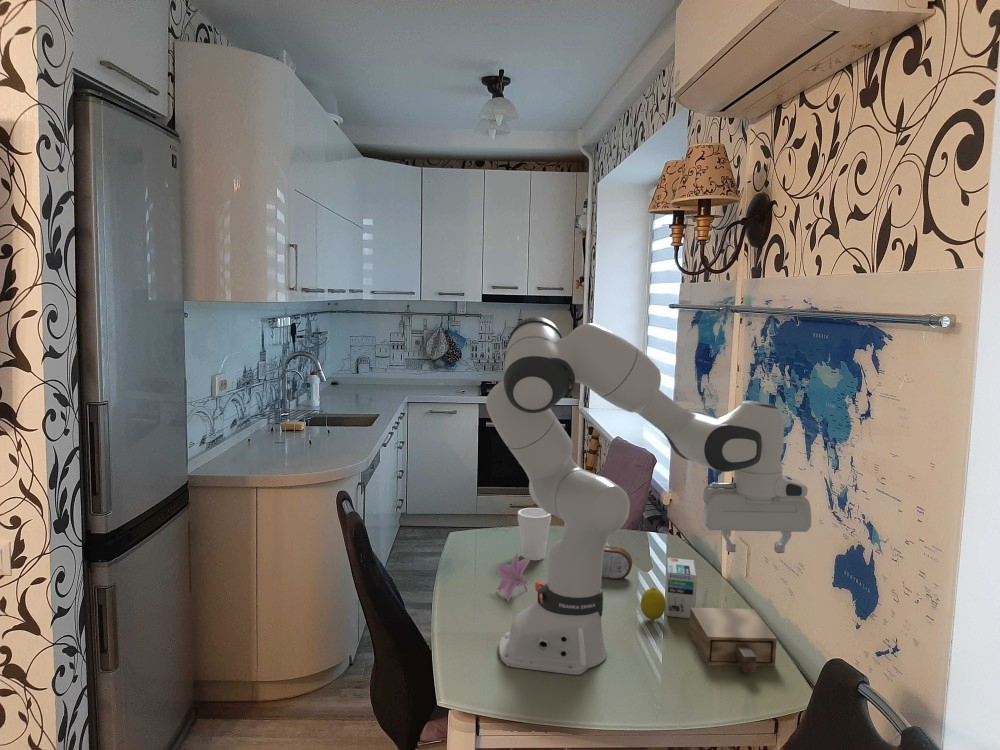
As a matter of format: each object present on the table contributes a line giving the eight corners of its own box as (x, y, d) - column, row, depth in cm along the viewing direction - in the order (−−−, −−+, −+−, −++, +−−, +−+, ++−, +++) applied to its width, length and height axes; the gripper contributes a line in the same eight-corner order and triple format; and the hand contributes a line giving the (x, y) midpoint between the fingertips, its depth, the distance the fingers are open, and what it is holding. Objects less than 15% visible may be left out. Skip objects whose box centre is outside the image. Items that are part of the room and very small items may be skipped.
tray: (718, 673, 144) (719, 654, 144) (694, 631, 162) (695, 614, 162) (779, 674, 144) (780, 655, 144) (749, 632, 162) (750, 615, 161)
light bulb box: (695, 619, 170) (697, 575, 169) (665, 616, 171) (667, 572, 170) (692, 601, 181) (695, 559, 179) (665, 598, 182) (666, 556, 181)
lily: (497, 585, 191) (484, 558, 186) (539, 569, 190) (527, 542, 186) (503, 618, 180) (489, 590, 176) (548, 601, 179) (535, 573, 175)
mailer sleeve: (706, 664, 149) (707, 636, 148) (689, 633, 163) (690, 607, 162) (775, 666, 149) (776, 638, 148) (751, 634, 163) (753, 608, 162)
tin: (631, 578, 195) (632, 547, 194) (631, 582, 192) (632, 551, 191) (575, 572, 198) (576, 542, 197) (573, 576, 195) (574, 545, 194)
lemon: (662, 627, 166) (664, 593, 165) (638, 623, 167) (639, 590, 167) (666, 618, 171) (667, 585, 170) (642, 614, 173) (643, 581, 172)
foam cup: (510, 557, 208) (511, 513, 206) (528, 548, 215) (529, 505, 214) (538, 565, 202) (540, 519, 201) (555, 555, 210) (557, 511, 209)
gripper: (707, 486, 141) (705, 556, 142) (816, 488, 139) (812, 558, 141) (700, 478, 147) (698, 545, 148) (804, 479, 146) (801, 547, 147)
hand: (754, 551), depth 145 cm, fingers open, 8 cm apart
